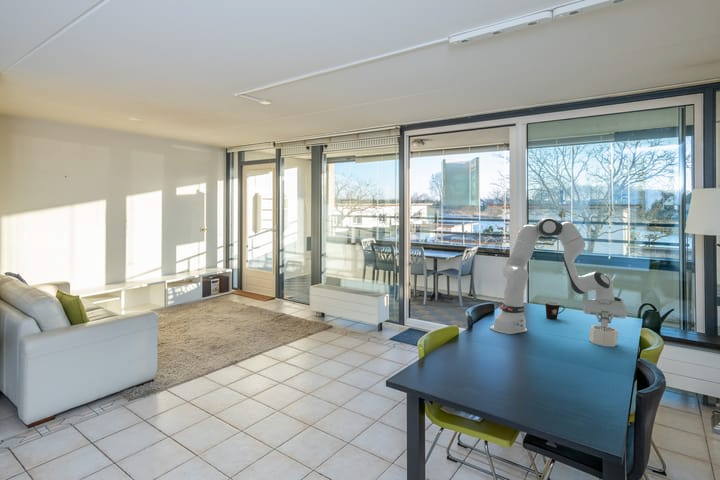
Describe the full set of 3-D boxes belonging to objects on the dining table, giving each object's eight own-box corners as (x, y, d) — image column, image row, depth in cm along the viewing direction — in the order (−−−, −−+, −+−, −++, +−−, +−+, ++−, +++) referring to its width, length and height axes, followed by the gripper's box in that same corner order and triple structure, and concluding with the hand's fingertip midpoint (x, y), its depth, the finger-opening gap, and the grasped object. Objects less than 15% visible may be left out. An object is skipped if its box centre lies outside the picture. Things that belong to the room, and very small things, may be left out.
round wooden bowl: (610, 348, 206) (611, 333, 206) (586, 341, 216) (587, 327, 215) (620, 343, 214) (621, 329, 213) (596, 337, 223) (597, 323, 223)
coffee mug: (544, 318, 261) (544, 304, 260) (544, 315, 268) (545, 301, 267) (563, 321, 255) (564, 306, 254) (564, 318, 263) (564, 303, 262)
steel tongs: (597, 341, 214) (599, 312, 212) (596, 337, 219) (598, 309, 217) (609, 342, 212) (611, 313, 210) (608, 339, 217) (610, 311, 215)
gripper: (583, 295, 224) (582, 316, 216) (626, 299, 214) (627, 321, 207) (583, 301, 228) (582, 322, 221) (625, 306, 219) (626, 327, 211)
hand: (604, 322), depth 213 cm, fingers closed on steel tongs, 3 cm apart
